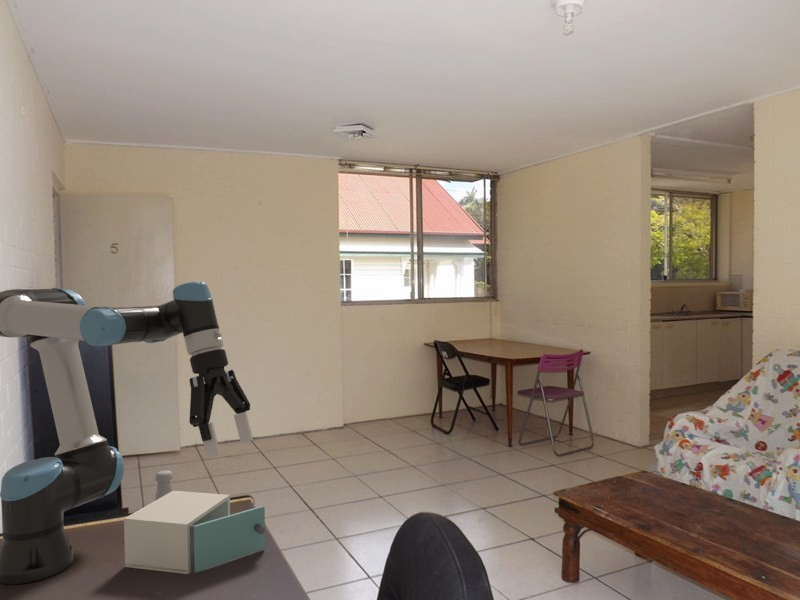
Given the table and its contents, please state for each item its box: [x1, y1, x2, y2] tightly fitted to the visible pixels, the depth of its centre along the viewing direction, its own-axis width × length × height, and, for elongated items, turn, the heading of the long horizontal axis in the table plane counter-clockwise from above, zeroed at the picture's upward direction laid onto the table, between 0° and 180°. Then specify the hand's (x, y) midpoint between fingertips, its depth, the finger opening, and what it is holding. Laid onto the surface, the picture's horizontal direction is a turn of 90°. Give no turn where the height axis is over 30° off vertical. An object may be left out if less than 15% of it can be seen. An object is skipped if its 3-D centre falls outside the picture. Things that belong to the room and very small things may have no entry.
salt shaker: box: [154, 470, 174, 501], centre depth 156 cm, size 6×6×13 cm
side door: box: [190, 505, 266, 574], centre depth 131 cm, size 4×18×10 cm, turn 132°
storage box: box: [123, 490, 231, 575], centre depth 137 cm, size 16×18×11 cm
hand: (231, 448), depth 123 cm, fingers open, 13 cm apart
